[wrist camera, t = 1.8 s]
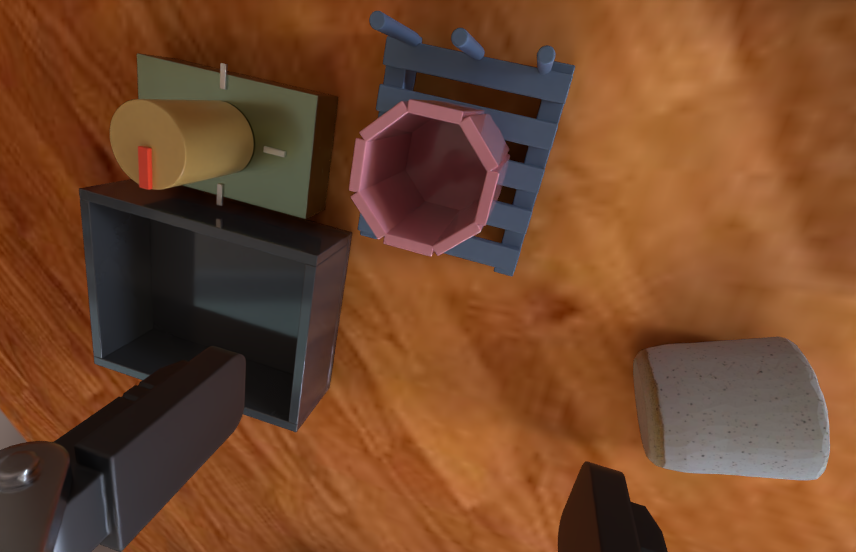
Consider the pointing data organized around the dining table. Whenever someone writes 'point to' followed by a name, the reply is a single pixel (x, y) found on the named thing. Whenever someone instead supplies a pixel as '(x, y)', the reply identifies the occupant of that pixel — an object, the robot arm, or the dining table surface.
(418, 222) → the cup
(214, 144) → the tap knob
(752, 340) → the ceramic mug
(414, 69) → the drying rack
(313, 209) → the tap panel
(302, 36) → the dining table surface
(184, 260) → the dark grey open box
